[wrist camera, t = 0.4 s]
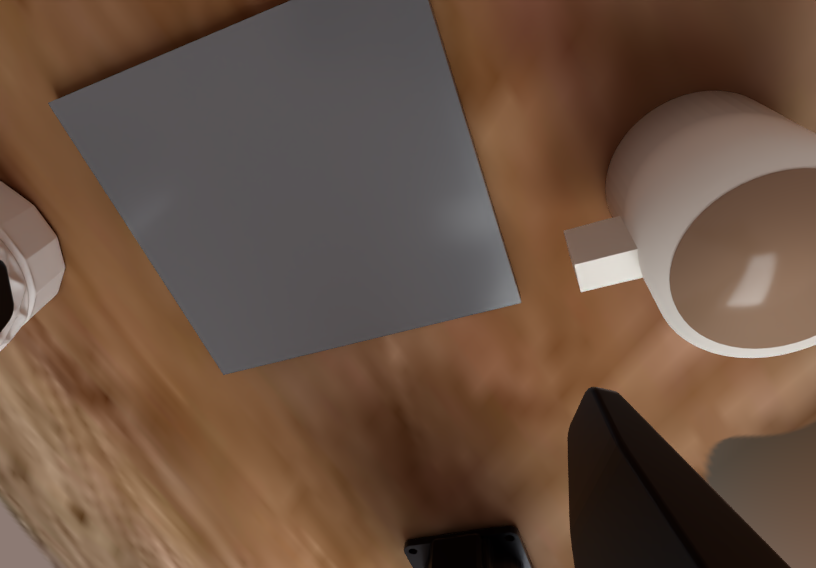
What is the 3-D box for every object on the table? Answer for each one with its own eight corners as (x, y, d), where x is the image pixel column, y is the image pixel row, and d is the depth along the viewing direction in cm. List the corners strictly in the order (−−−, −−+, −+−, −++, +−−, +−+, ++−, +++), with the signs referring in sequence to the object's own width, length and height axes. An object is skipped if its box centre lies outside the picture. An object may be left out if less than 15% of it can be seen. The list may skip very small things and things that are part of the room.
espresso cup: (789, 227, 21) (907, 333, 15) (574, 281, 23) (607, 391, 17) (782, 64, 18) (923, 117, 12) (539, 140, 20) (564, 216, 14)
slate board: (520, 294, 23) (521, 302, 23) (228, 366, 27) (223, 374, 26) (413, -52, 17) (412, -52, 17) (58, 99, 21) (47, 102, 20)
